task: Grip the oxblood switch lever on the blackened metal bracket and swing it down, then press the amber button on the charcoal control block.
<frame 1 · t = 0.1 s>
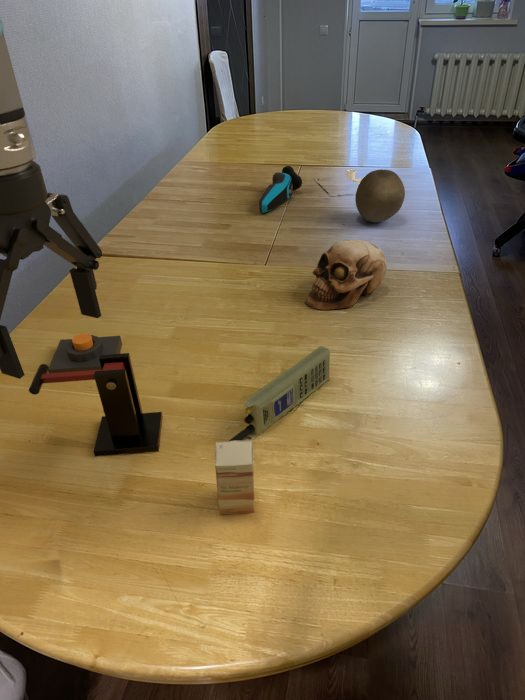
hand: (55, 342, 63), 24 cm above the table, tool pointing down, fingers open, 13 cm apart
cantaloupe: (377, 222, 155), on the table
control block: (88, 360, 102), on the table
small printed carton: (237, 502, 73), on the table
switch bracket: (130, 435, 84), on the table
electric shaver: (276, 202, 171), on the table
start button: (82, 342, 99), point 4 cm above the table, slide at 0.1 cm
switch lever: (79, 375, 77), point 13 cm above the table, hinge at 0.0°
tan skull: (343, 295, 120), on the table
teacup and saucer: (348, 185, 183), on the table
handheld radio: (280, 412, 88), on the table
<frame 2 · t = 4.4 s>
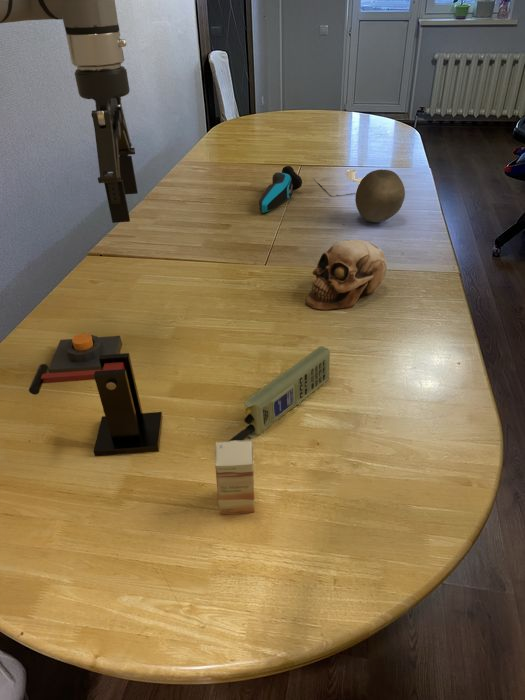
hand: (125, 206, 89), 29 cm above the table, tool pointing down, fingers open, 13 cm apart
nothing on the table moved.
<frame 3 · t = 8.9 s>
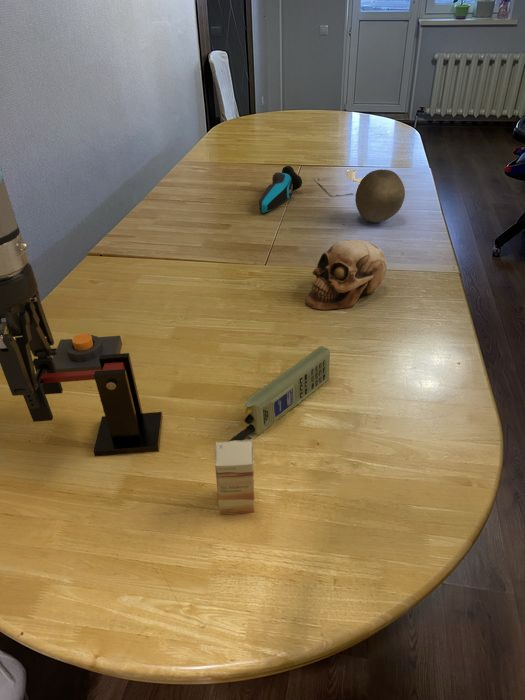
hand: (48, 405, 79), 8 cm above the table, tool pointing down, fingers closed on switch lever, 5 cm apart
switch lever: (79, 375, 77), point 13 cm above the table, hinge at 0.0°, touching gripper
everything else where it was.
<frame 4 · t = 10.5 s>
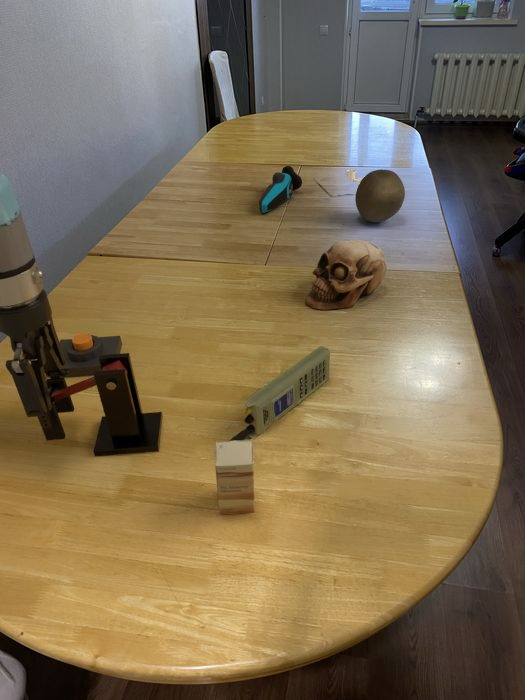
hand: (61, 423, 82), 4 cm above the table, tool pointing down, fingers closed on switch lever, 5 cm apart
switch lever: (84, 385, 78), point 11 cm above the table, hinge at -20.3°, touching gripper
everything else where it was.
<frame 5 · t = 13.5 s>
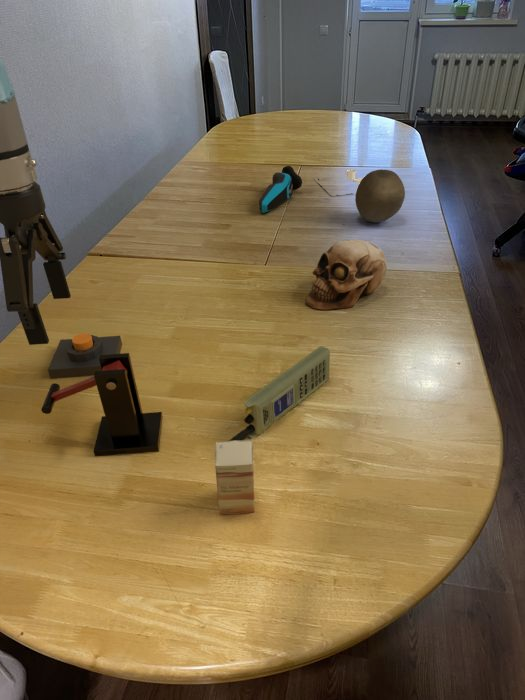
hand: (51, 318, 82), 17 cm above the table, tool pointing down, fingers open, 13 cm apart
switch lever: (84, 385, 78), point 11 cm above the table, hinge at -20.5°
everything else where it was.
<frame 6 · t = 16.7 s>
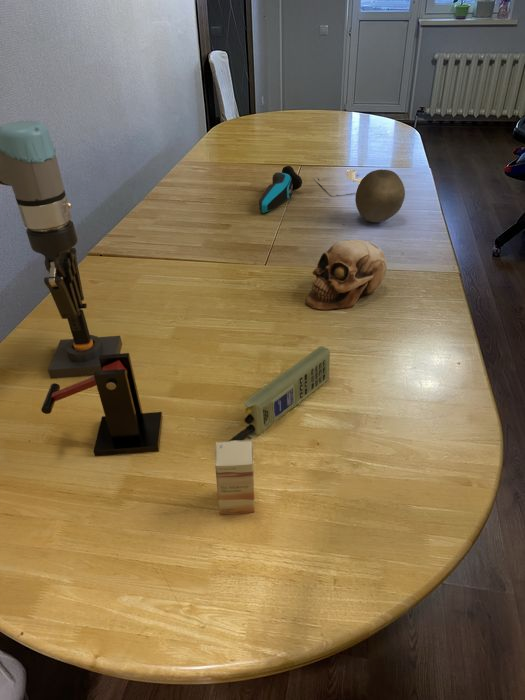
hand: (82, 341, 99), 5 cm above the table, tool pointing down, fingers closed
start button: (83, 346, 100), point 4 cm above the table, slide at -0.8 cm, touching gripper
everything else where it was.
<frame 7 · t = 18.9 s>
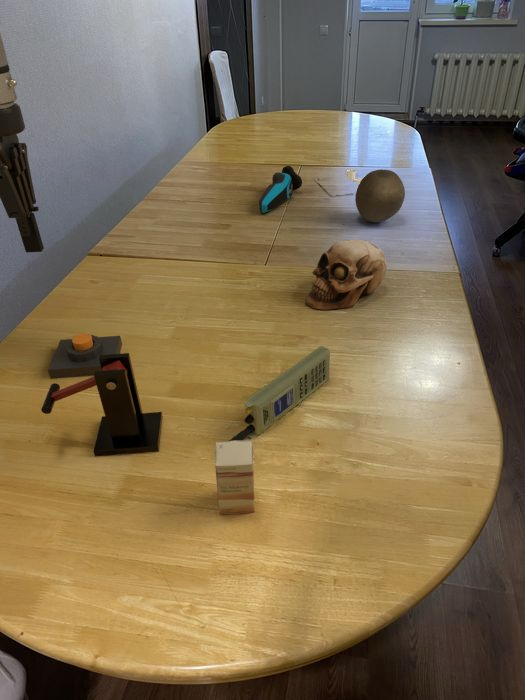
hand: (34, 250, 91), 22 cm above the table, tool pointing down, fingers closed
start button: (82, 342, 99), point 4 cm above the table, slide at 0.1 cm
everything else where it was.
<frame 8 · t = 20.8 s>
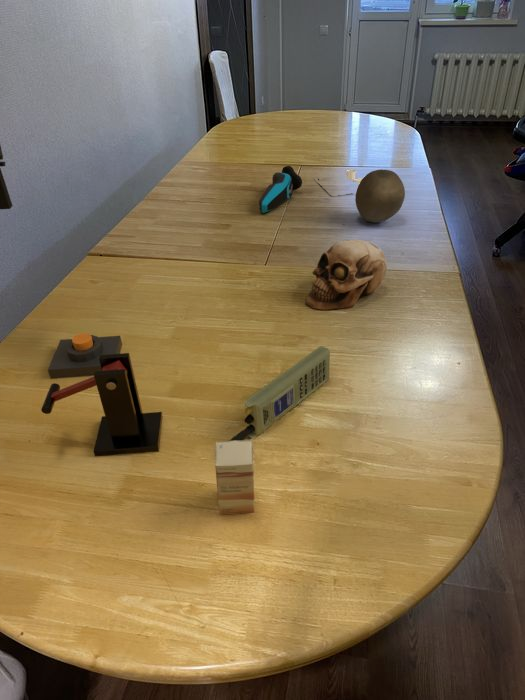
hand: (3, 207, 89), 29 cm above the table, tool pointing down, fingers closed
nothing on the table moved.
at the end: switch lever at -20° (first picture: +0°); start button pushed in 1.0 cm at the most during the clip, back to where it started at the end; start button slide at 0.1 cm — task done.
